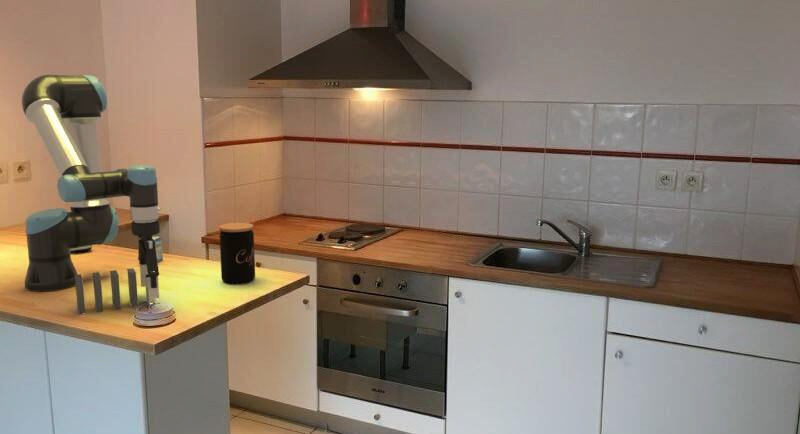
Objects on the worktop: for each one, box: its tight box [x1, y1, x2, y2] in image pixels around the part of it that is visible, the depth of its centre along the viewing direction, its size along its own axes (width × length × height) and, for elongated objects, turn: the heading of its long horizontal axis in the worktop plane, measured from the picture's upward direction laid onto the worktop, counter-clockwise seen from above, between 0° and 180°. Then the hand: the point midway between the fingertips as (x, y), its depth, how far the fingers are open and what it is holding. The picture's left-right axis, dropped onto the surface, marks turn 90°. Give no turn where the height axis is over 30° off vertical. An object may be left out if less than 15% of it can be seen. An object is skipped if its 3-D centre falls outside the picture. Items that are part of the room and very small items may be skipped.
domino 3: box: [109, 269, 122, 310], centre depth 197 cm, size 2×5×10 cm, turn 29°
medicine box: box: [137, 236, 164, 266], centre depth 245 cm, size 8×4×9 cm, turn 169°
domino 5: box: [144, 267, 156, 305], centre depth 201 cm, size 2×5×10 cm, turn 28°
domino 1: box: [74, 273, 86, 315], centre depth 193 cm, size 2×5×10 cm, turn 28°
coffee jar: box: [219, 222, 256, 286], centre depth 223 cm, size 11×11×18 cm
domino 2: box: [92, 271, 104, 313], centre depth 195 cm, size 2×5×10 cm, turn 28°
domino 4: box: [126, 267, 139, 308], centre depth 199 cm, size 2×5×10 cm, turn 29°
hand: (150, 292), depth 202 cm, fingers open, 13 cm apart
